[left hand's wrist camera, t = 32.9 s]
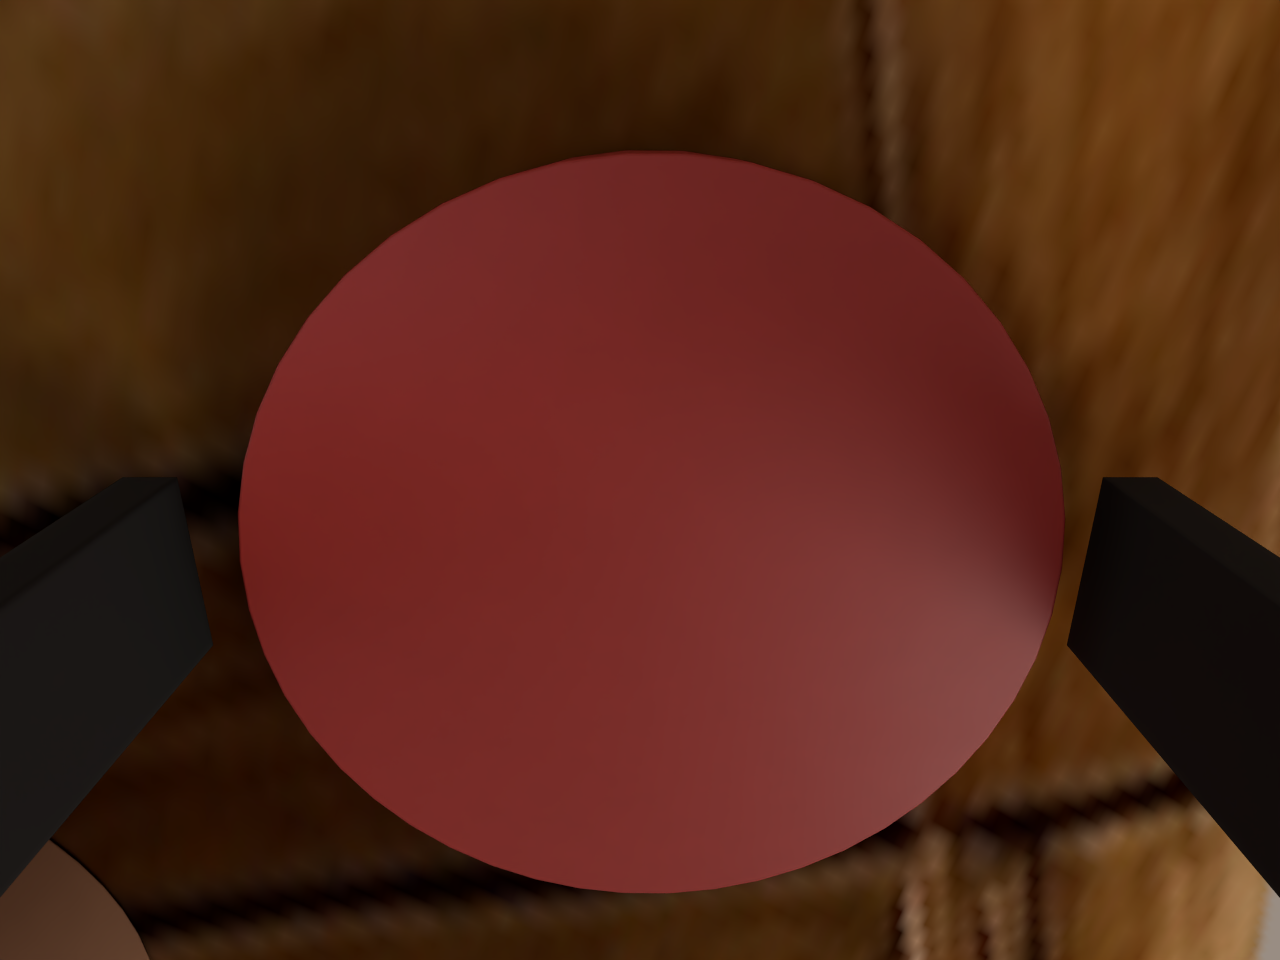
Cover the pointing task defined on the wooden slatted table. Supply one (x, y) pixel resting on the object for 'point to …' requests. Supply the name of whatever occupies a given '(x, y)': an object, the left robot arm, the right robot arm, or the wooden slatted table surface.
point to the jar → (64, 914)
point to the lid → (651, 522)
